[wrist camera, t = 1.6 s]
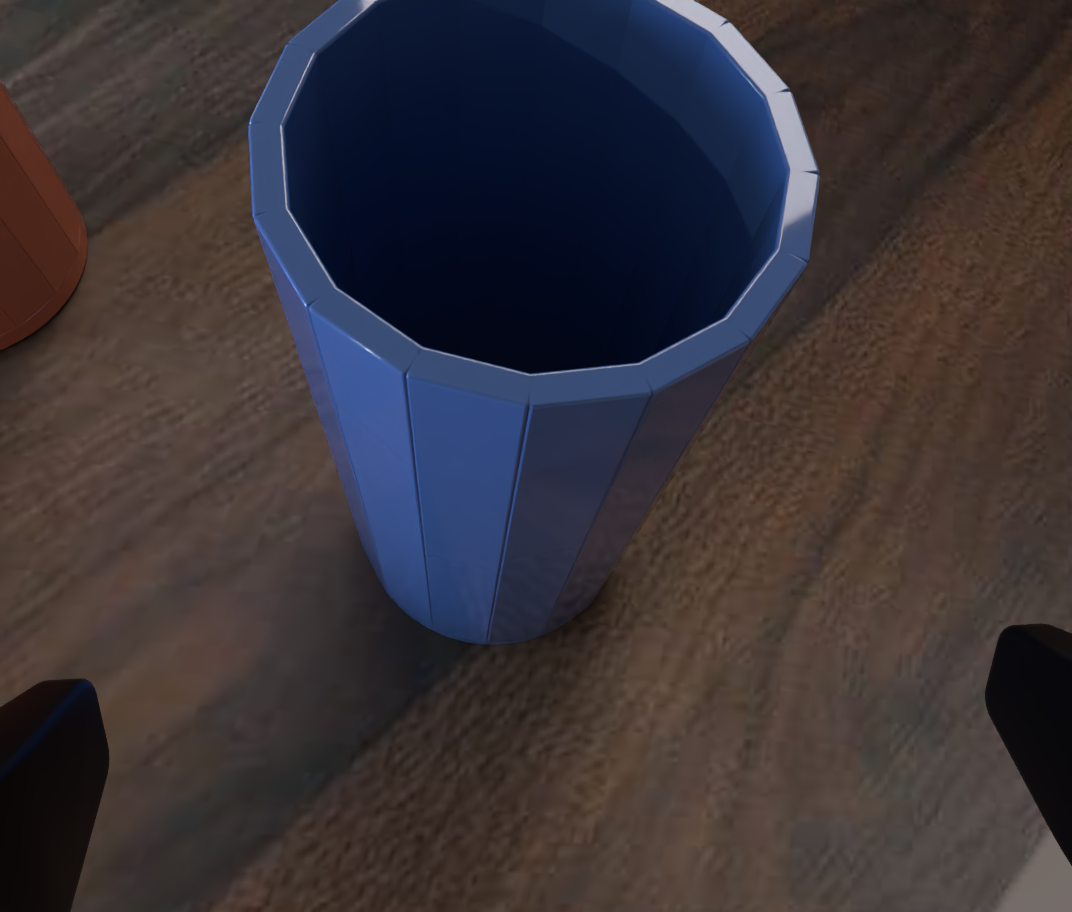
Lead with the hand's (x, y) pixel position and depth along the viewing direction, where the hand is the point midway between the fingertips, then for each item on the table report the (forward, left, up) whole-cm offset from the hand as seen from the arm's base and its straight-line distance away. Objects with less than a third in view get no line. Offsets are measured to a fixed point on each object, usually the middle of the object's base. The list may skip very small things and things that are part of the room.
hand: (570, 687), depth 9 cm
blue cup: (+6, -1, -12) cm, 13 cm away
